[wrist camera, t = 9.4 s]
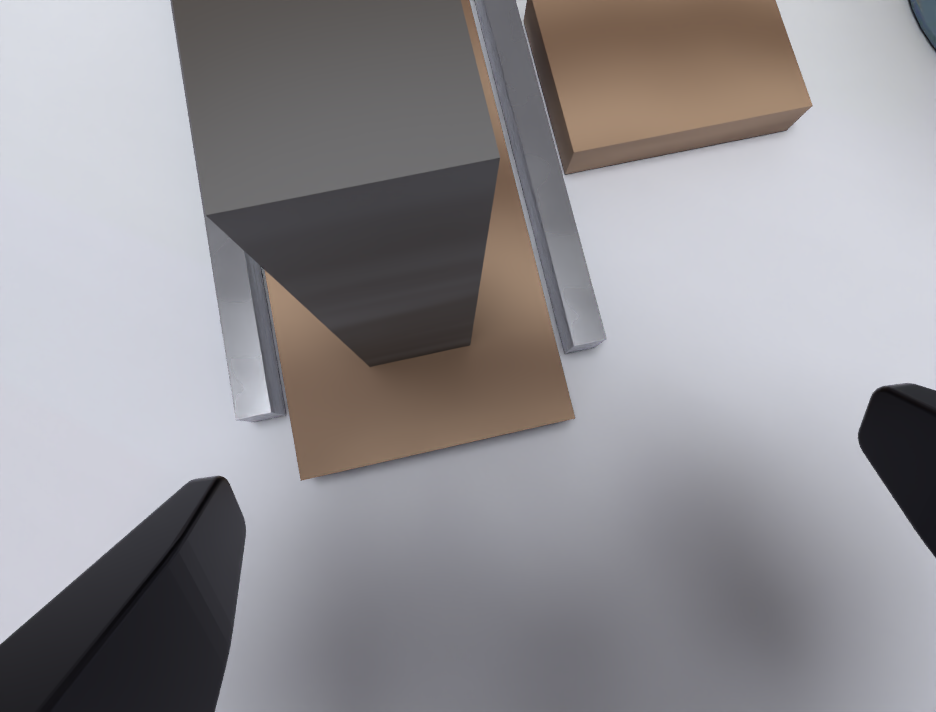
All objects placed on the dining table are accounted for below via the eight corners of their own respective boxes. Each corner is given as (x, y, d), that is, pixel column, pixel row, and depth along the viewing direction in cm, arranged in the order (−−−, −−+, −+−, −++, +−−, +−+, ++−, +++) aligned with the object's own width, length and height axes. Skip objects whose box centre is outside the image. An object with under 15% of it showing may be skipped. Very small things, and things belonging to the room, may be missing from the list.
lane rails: (594, 347, 18) (606, 338, 16) (253, 422, 17) (235, 419, 16) (449, -203, 21) (448, -249, 20) (160, -159, 20) (138, -203, 19)
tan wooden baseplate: (568, 420, 17) (814, 365, 5) (310, 478, 16) (-33, 557, 5) (456, -26, 19) (458, -722, 8) (229, 14, 19) (-127, -667, 7)
